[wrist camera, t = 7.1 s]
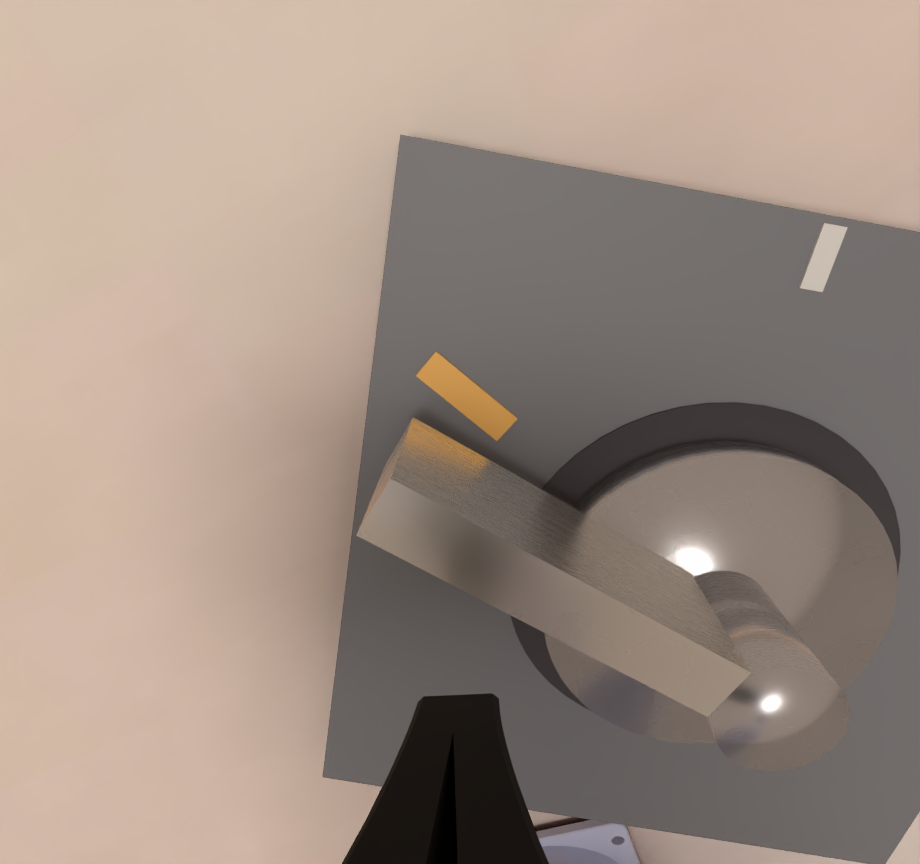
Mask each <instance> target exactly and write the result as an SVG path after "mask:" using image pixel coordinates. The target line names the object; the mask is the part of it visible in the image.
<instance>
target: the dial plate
mask: <svg viewBox="0 0 920 864" xmlns="http://www.w3.org/2000/svg"><path fill="white" fill-rule="evenodd" d="M413 417H414V418H415V419H417V420H419V421H421V422H423V423H424V424H426V425H428V426H430V427H432V428H433V429H435V430H437V431H439V432H440V433H442V434H444V435H446V436H448V437H449V438H451V439H453V440H455V441H457V442H458V443H460V444H462V445H464V446H465V447H467V448H469V449H471V450H473V451H474V452H476V453H478V454H480V455H482V456H483V457H485V458H487V459H489V460H490V461H492V462H494V463H496V464H498V465H499V466H501V467H503V468H505V469H506V470H508V471H510V472H512V473H514V474H515V475H517V476H519V477H521V478H523V479H524V480H526V481H528V482H530V483H531V484H533V485H535V486H537V487H539V488H540V489H542V490H544V491H546V492H548V493H549V494H551V495H553V496H555V497H556V498H558V499H560V500H562V501H564V502H565V503H567V504H569V505H571V506H573V507H574V508H575V507H576V506H577V504H578V503H579V502H580V501H581V500H582V499H583V498H584V497H585V496H586V495H587V494H589V493H590V492H591V491H592V490H593V489H594V488H595V487H596V486H597V485H599V484H600V483H602V482H603V481H604V480H606V479H607V478H609V477H610V476H611V475H613V474H614V473H616V472H617V471H619V470H621V469H623V468H625V467H627V466H628V465H630V464H632V463H634V462H636V461H638V460H640V459H643V458H645V457H648V456H650V455H653V454H655V453H657V452H660V451H664V450H668V449H671V448H675V447H678V446H682V445H688V444H695V443H701V442H711V441H739V442H752V443H757V444H762V445H767V446H772V447H776V448H779V449H782V450H785V451H787V452H790V453H793V454H796V455H798V456H800V457H802V458H804V459H806V460H808V461H810V462H812V463H813V464H815V465H817V466H818V467H820V468H821V469H823V470H824V471H825V472H827V473H828V474H830V475H831V476H832V477H834V478H835V479H837V480H838V481H839V482H841V483H842V484H843V485H845V486H846V487H848V488H849V489H850V490H852V491H853V492H854V493H856V494H857V495H858V496H859V497H860V498H861V499H862V500H863V501H864V502H865V503H866V504H867V505H868V506H869V507H870V508H871V509H872V511H873V512H874V513H875V515H876V516H877V518H878V519H879V521H880V522H881V523H882V525H883V527H884V529H885V531H886V533H887V535H888V537H889V539H890V542H891V544H892V548H893V551H894V555H895V559H896V563H897V575H898V588H897V600H896V605H895V609H894V613H893V617H892V620H891V623H890V625H889V628H888V630H887V633H886V635H885V637H884V639H883V641H882V643H881V645H880V646H879V648H878V650H877V651H876V653H875V655H874V656H873V658H872V659H871V660H870V662H869V663H868V664H867V665H866V667H865V668H864V669H863V671H862V672H861V673H860V674H859V675H858V676H857V677H856V678H855V679H854V680H853V681H852V682H851V683H850V684H849V685H848V686H847V687H846V688H845V689H844V690H843V692H844V693H845V695H846V697H847V699H848V702H849V705H850V711H851V714H850V722H849V726H848V728H847V731H846V733H845V734H844V736H843V738H842V739H841V740H840V742H839V743H838V744H837V745H836V746H835V747H834V748H833V749H832V750H831V751H830V752H828V753H827V754H826V755H824V756H823V757H821V758H819V759H818V760H816V761H814V762H812V763H809V764H807V765H804V766H801V767H798V768H795V769H790V770H783V771H760V770H755V769H751V768H747V767H744V766H742V765H740V764H737V763H736V762H734V761H732V760H731V759H730V758H728V757H727V756H726V755H725V754H724V753H723V752H722V751H721V749H720V748H719V746H718V744H717V743H680V742H669V741H664V740H659V739H654V738H649V737H646V736H642V735H639V734H636V733H633V732H630V731H628V730H625V729H623V728H621V727H618V726H616V725H614V724H612V723H610V722H609V721H607V720H605V719H603V718H602V717H600V716H598V715H597V714H596V713H594V712H593V711H592V710H590V709H589V708H588V707H586V706H585V705H584V704H583V703H582V702H581V701H580V700H579V699H578V698H577V697H576V696H575V695H574V694H573V693H572V692H571V691H570V690H569V688H568V687H567V686H566V684H565V683H564V682H563V680H562V679H561V678H560V676H559V674H558V672H557V670H556V668H555V666H554V664H553V662H552V660H551V657H550V654H549V651H548V648H547V645H546V639H545V633H544V632H542V631H540V630H538V629H536V628H534V627H532V626H531V625H529V624H527V623H525V622H523V621H521V620H519V619H517V618H515V617H513V616H511V615H509V614H507V613H505V612H503V611H501V610H500V609H498V608H496V607H494V606H492V605H490V604H488V603H486V602H484V601H482V600H480V599H478V598H476V597H474V596H472V595H471V594H469V593H467V592H465V591H463V590H461V589H459V588H457V587H455V586H453V585H451V584H449V583H447V582H445V581H443V580H442V579H440V578H438V577H436V576H434V575H432V574H430V573H428V572H426V571H424V570H422V569H420V568H418V567H416V566H414V565H412V564H411V563H409V562H407V561H405V560H403V559H401V558H399V557H397V556H395V555H393V554H391V553H389V552H387V551H385V550H383V549H382V548H380V547H378V546H376V545H374V544H372V543H370V542H368V541H366V540H364V539H362V538H360V537H358V536H356V535H357V533H358V530H359V528H360V526H361V523H362V521H363V518H364V516H365V513H366V511H367V508H368V506H369V503H370V501H371V498H372V496H373V494H374V491H375V489H376V486H377V484H378V481H379V479H380V476H381V474H382V471H383V469H384V466H385V464H386V462H387V460H388V458H389V457H390V455H391V453H392V452H393V450H394V448H395V447H396V445H397V443H398V441H399V440H400V438H401V436H402V435H403V433H404V431H405V430H406V428H407V426H408V425H409V423H410V421H411V419H412V418H413ZM487 693H493V694H494V695H495V696H496V697H498V698H499V704H500V715H501V722H502V727H503V732H504V736H505V740H506V744H507V748H508V751H509V755H510V759H511V762H512V766H513V769H514V772H515V775H516V778H517V781H518V784H519V787H520V790H521V793H522V795H523V798H524V801H525V804H526V807H527V809H528V810H533V811H539V812H546V813H552V814H558V815H565V816H571V817H577V818H583V819H590V820H596V821H602V822H609V823H615V824H621V825H628V826H634V827H640V828H647V829H653V830H659V831H665V832H672V833H678V834H684V835H691V836H697V837H703V838H710V839H716V840H722V841H728V842H735V843H741V844H747V845H754V846H760V847H766V848H773V849H779V850H785V851H791V852H798V853H804V854H810V855H817V856H823V857H829V858H836V859H842V860H848V861H855V862H861V863H867V864H886V862H887V860H888V859H889V857H890V856H891V854H892V853H893V851H894V850H895V848H896V847H897V845H898V844H899V842H900V841H901V839H902V838H903V836H904V834H905V833H906V831H907V830H908V828H909V827H910V825H911V824H912V822H913V821H914V819H915V818H916V816H917V815H918V813H919V812H920V232H915V231H910V230H905V229H899V228H894V227H889V226H883V225H878V224H873V223H867V222H862V221H857V220H852V219H846V218H841V217H836V216H830V215H825V214H820V213H814V212H809V211H804V210H798V209H793V208H788V207H782V206H777V205H772V204H766V203H761V202H756V201H751V200H745V199H740V198H735V197H729V196H724V195H719V194H713V193H708V192H703V191H697V190H692V189H687V188H681V187H676V186H671V185H665V184H660V183H655V182H650V181H644V180H639V179H634V178H628V177H623V176H618V175H612V174H607V173H602V172H596V171H591V170H586V169H580V168H575V167H570V166H564V165H559V164H554V163H549V162H543V161H538V160H533V159H527V158H522V157H517V156H511V155H506V154H501V153H495V152H490V151H485V150H479V149H474V148H469V147H463V146H458V145H453V144H448V143H442V142H437V141H432V140H426V139H421V138H416V137H410V136H405V135H400V142H399V150H398V159H397V167H396V175H395V183H394V192H393V200H392V208H391V216H390V225H389V233H388V241H387V249H386V258H385V266H384V274H383V282H382V291H381V299H380V307H379V315H378V324H377V332H376V340H375V348H374V357H373V365H372V373H371V381H370V390H369V398H368V406H367V414H366V423H365V431H364V439H363V447H362V456H361V464H360V472H359V480H358V489H357V497H356V505H355V513H354V522H353V530H352V538H351V546H350V555H349V563H348V571H347V579H346V588H345V596H344V604H343V612H342V621H341V629H340V637H339V645H338V654H337V662H336V670H335V678H334V687H333V695H332V703H331V711H330V720H329V728H328V736H327V744H326V753H325V761H324V769H323V777H325V778H331V779H338V780H344V781H350V782H357V783H363V784H369V785H375V786H383V784H384V782H385V780H386V778H387V776H388V774H389V772H390V770H391V768H392V766H393V763H394V761H395V759H396V757H397V754H398V752H399V750H400V748H401V745H402V743H403V741H404V738H405V736H406V733H407V731H408V728H409V726H410V723H411V720H412V718H413V715H414V712H415V709H416V706H417V703H418V701H419V700H420V699H421V698H422V697H424V696H443V695H465V694H487Z"/></svg>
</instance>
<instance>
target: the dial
mask: <svg viewBox="0 0 920 864" xmlns="http://www.w3.org/2000/svg"><path fill="white" fill-rule="evenodd" d="M356 536H358V537H360V538H362V539H364V540H366V541H368V542H370V543H372V544H374V545H376V546H378V547H380V548H382V549H383V550H385V551H387V552H389V553H391V554H393V555H395V556H397V557H399V558H401V559H403V560H405V561H407V562H409V563H411V564H412V565H414V566H416V567H418V568H420V569H422V570H424V571H426V572H428V573H430V574H432V575H434V576H436V577H438V578H440V579H442V580H443V581H445V582H447V583H449V584H451V585H453V586H455V587H457V588H459V589H461V590H463V591H465V592H467V593H469V594H471V595H472V596H474V597H476V598H478V599H480V600H482V601H484V602H486V603H488V604H490V605H492V606H494V607H496V608H498V609H500V610H501V611H503V612H505V613H507V614H509V615H511V616H513V617H515V618H517V619H519V620H521V621H523V622H525V623H527V624H529V625H531V626H532V627H534V628H536V629H538V630H540V631H542V632H544V633H545V639H546V645H547V648H548V651H549V654H550V657H551V660H552V662H553V664H554V666H555V668H556V670H557V672H558V674H559V676H560V678H561V679H562V680H563V682H564V683H565V684H566V686H567V687H568V688H569V690H570V691H571V692H572V693H573V694H574V695H575V696H576V697H577V698H578V699H579V700H580V701H581V702H582V703H583V704H584V705H585V706H586V707H588V708H589V709H590V710H592V711H593V712H594V713H596V714H597V715H598V716H600V717H602V718H603V719H605V720H607V721H609V722H610V723H612V724H614V725H616V726H618V727H621V728H623V729H625V730H628V731H630V732H633V733H636V734H639V735H642V736H646V737H649V738H654V739H659V740H664V741H669V742H680V743H717V744H718V746H719V748H720V749H721V751H722V752H723V753H724V754H725V755H726V756H727V757H728V758H730V759H731V760H732V761H734V762H736V763H737V764H740V765H742V766H744V767H747V768H751V769H755V770H760V771H783V770H790V769H795V768H798V767H801V766H804V765H807V764H809V763H812V762H814V761H816V760H818V759H819V758H821V757H823V756H824V755H826V754H827V753H828V752H830V751H831V750H832V749H833V748H834V747H835V746H836V745H837V744H838V743H839V742H840V740H841V739H842V738H843V736H844V734H845V733H846V731H847V728H848V726H849V722H850V714H851V711H850V705H849V702H848V699H847V697H846V695H845V693H844V692H843V690H844V689H845V688H846V687H847V686H848V685H849V684H850V683H851V682H852V681H853V680H854V679H855V678H856V677H857V676H858V675H859V674H860V673H861V672H862V671H863V669H864V668H865V667H866V665H867V664H868V663H869V662H870V660H871V659H872V658H873V656H874V655H875V653H876V651H877V650H878V648H879V646H880V645H881V643H882V641H883V639H884V637H885V635H886V633H887V630H888V628H889V625H890V623H891V620H892V617H893V613H894V609H895V605H896V600H897V588H898V575H897V563H896V559H895V555H894V551H893V548H892V544H891V542H890V539H889V537H888V535H887V533H886V531H885V529H884V527H883V525H882V523H881V522H880V521H879V519H878V518H877V516H876V515H875V513H874V512H873V511H872V509H871V508H870V507H869V506H868V505H867V504H866V503H865V502H864V501H863V500H862V499H861V498H860V497H859V496H858V495H857V494H856V493H854V492H853V491H852V490H850V489H849V488H848V487H846V486H845V485H843V484H842V483H841V482H839V481H838V480H837V479H835V478H834V477H832V476H831V475H830V474H828V473H827V472H825V471H824V470H823V469H821V468H820V467H818V466H817V465H815V464H813V463H812V462H810V461H808V460H806V459H804V458H802V457H800V456H798V455H796V454H793V453H790V452H787V451H785V450H782V449H779V448H776V447H772V446H767V445H762V444H757V443H752V442H739V441H711V442H701V443H695V444H688V445H682V446H678V447H675V448H671V449H668V450H664V451H660V452H657V453H655V454H653V455H650V456H648V457H645V458H643V459H640V460H638V461H636V462H634V463H632V464H630V465H628V466H627V467H625V468H623V469H621V470H619V471H617V472H616V473H614V474H613V475H611V476H610V477H609V478H607V479H606V480H604V481H603V482H602V483H600V484H599V485H597V486H596V487H595V488H594V489H593V490H592V491H591V492H590V493H589V494H587V495H586V496H585V497H584V498H583V499H582V500H581V501H580V502H579V503H578V504H577V506H576V507H575V508H574V507H573V506H571V505H569V504H567V503H565V502H564V501H562V500H560V499H558V498H556V497H555V496H553V495H551V494H549V493H548V492H546V491H544V490H542V489H540V488H539V487H537V486H535V485H533V484H531V483H530V482H528V481H526V480H524V479H523V478H521V477H519V476H517V475H515V474H514V473H512V472H510V471H508V470H506V469H505V468H503V467H501V466H499V465H498V464H496V463H494V462H492V461H490V460H489V459H487V458H485V457H483V456H482V455H480V454H478V453H476V452H474V451H473V450H471V449H469V448H467V447H465V446H464V445H462V444H460V443H458V442H457V441H455V440H453V439H451V438H449V437H448V436H446V435H444V434H442V433H440V432H439V431H437V430H435V429H433V428H432V427H430V426H428V425H426V424H424V423H423V422H421V421H419V420H417V419H415V418H414V417H413V418H412V419H411V421H410V423H409V425H408V426H407V428H406V430H405V431H404V433H403V435H402V436H401V438H400V440H399V441H398V443H397V445H396V447H395V448H394V450H393V452H392V453H391V455H390V457H389V458H388V460H387V462H386V464H385V466H384V469H383V471H382V474H381V476H380V479H379V481H378V484H377V486H376V489H375V491H374V494H373V496H372V498H371V501H370V503H369V506H368V508H367V511H366V513H365V516H364V518H363V521H362V523H361V526H360V528H359V530H358V533H357V535H356Z"/></svg>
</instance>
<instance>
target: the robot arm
mask: <svg viewBox="0 0 920 864" xmlns="http://www.w3.org/2000/svg"><path fill="white" fill-rule="evenodd" d="M342 864H641V863H640V860H639V858H638V855H637V853H636V850H635V847H634V845H633V842H632V839H631V837H630V834H629V831H628V829H627V826H626V825H621V824H615V823H609V822H602V821H596V820H587V821H582V822H578V823H573V824H568V825H564V826H559V827H554V828H550V829H545V830H540V831H535V828H534V826H533V823H532V820H531V818H530V815H529V812H528V809H527V807H526V804H525V801H524V798H523V795H522V793H521V790H520V787H519V784H518V781H517V778H516V775H515V772H514V769H513V766H512V762H511V759H510V755H509V751H508V748H507V744H506V740H505V736H504V732H503V727H502V722H501V715H500V704H499V698H498V697H496V696H495V695H494V694H493V693H487V694H465V695H443V696H424V697H422V698H421V699H420V700H419V701H418V703H417V706H416V709H415V712H414V715H413V718H412V720H411V723H410V726H409V728H408V731H407V733H406V736H405V738H404V741H403V743H402V745H401V748H400V750H399V752H398V754H397V757H396V759H395V761H394V763H393V766H392V768H391V770H390V772H389V774H388V776H387V778H386V780H385V782H384V784H383V786H382V789H381V791H380V793H379V795H378V797H377V799H376V801H375V803H374V805H373V807H372V809H371V811H370V813H369V815H368V817H367V819H366V821H365V823H364V825H363V826H362V828H361V830H360V832H359V834H358V835H357V837H356V839H355V841H354V843H353V845H352V846H351V848H350V850H349V852H348V854H347V855H346V857H345V859H344V861H343V863H342Z"/></svg>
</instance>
